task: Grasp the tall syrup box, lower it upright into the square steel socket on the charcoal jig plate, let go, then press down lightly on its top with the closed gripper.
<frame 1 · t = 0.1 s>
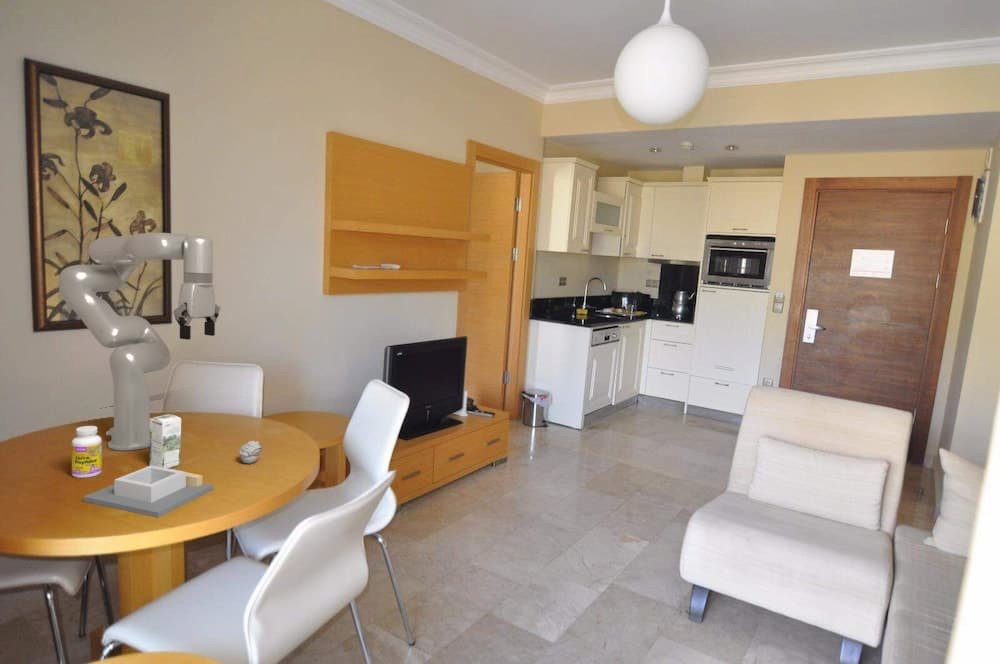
hand: (197, 337, 173), 37 cm above the table, tool pointing down, fingers open, 9 cm apart
white wrinkled round lump: (249, 463, 175), on the table
socket jig: (151, 495, 149), on the table
supplement bottle: (87, 474, 159), on the table
syrup box: (165, 466, 168), on the table
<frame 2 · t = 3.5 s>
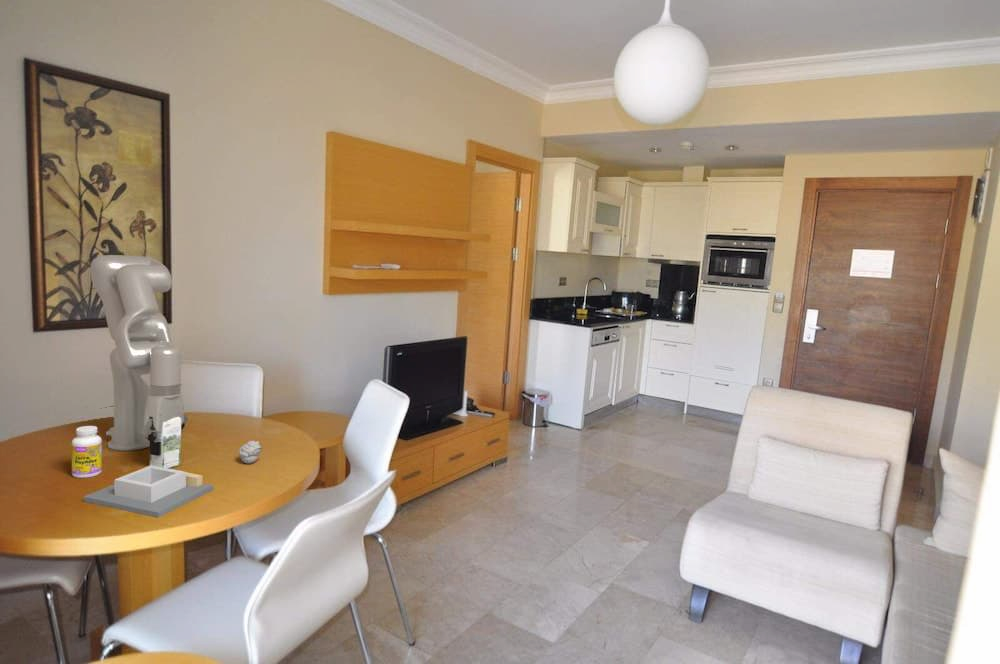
hand: (165, 450, 168), 5 cm above the table, tool pointing down, fingers closed on syrup box, 6 cm apart
syrup box: (165, 466, 168), on the table, touching gripper
everything else where it was.
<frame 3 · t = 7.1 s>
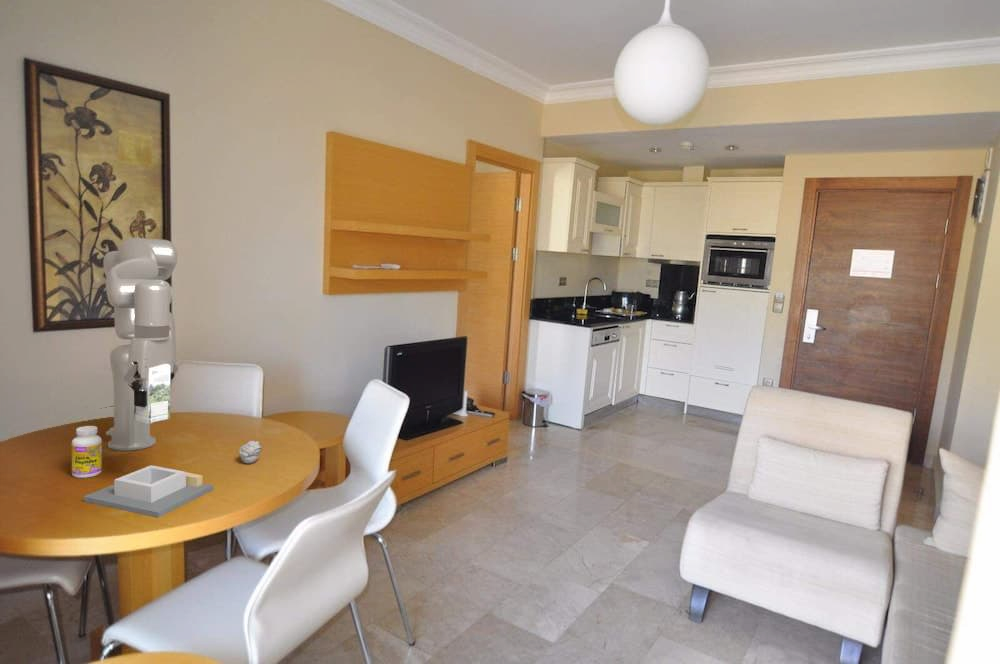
hand: (152, 402, 147), 24 cm above the table, tool pointing down, fingers closed on syrup box, 6 cm apart
syrup box: (152, 421, 148), point 19 cm above the table, touching gripper
everything else where it was.
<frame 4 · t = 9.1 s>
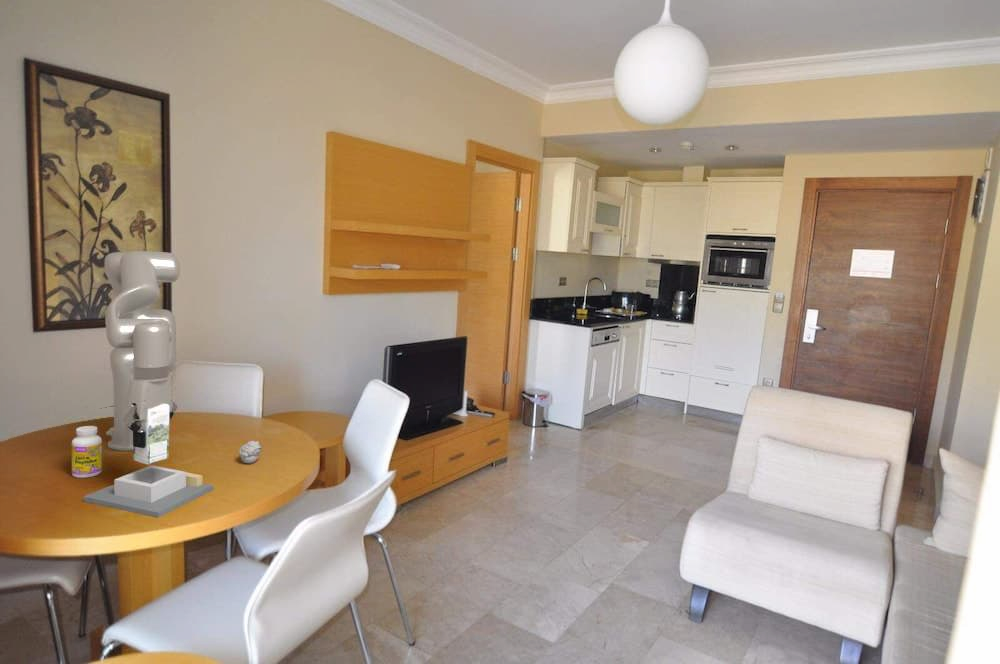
hand: (151, 442, 147), 14 cm above the table, tool pointing down, fingers closed on syrup box, 6 cm apart
syrup box: (151, 460, 148), point 9 cm above the table, touching gripper
everything else where it was.
when the fingers open (7 cm above the table, at t = 10.9 s): syrup box drops 1 cm, resting on socket jig.
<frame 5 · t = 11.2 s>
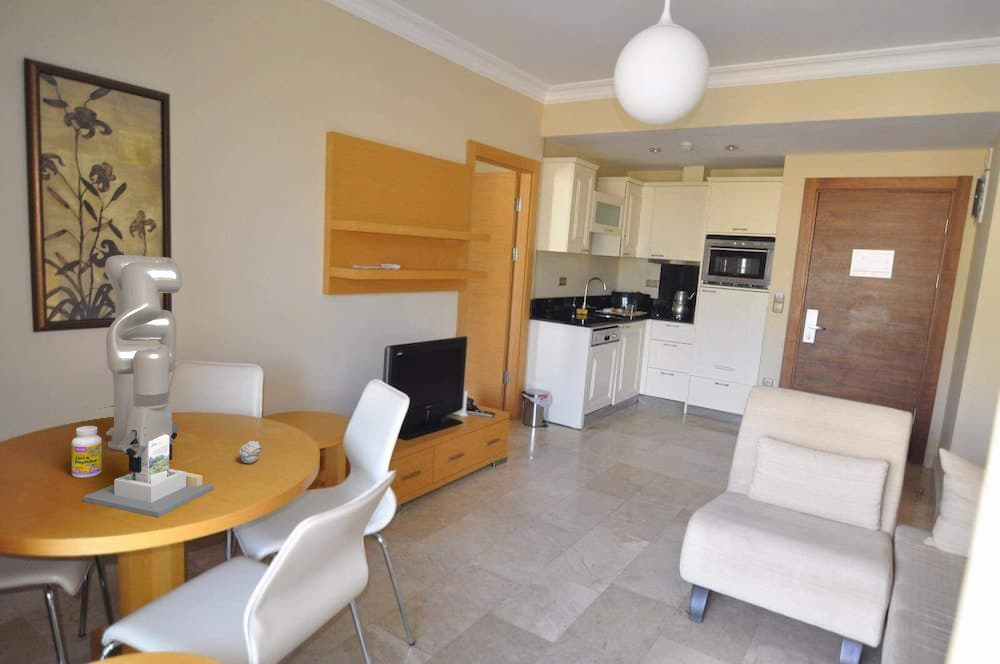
hand: (151, 465, 148), 8 cm above the table, tool pointing down, fingers open, 9 cm apart
syrup box: (151, 490, 149), point 1 cm above the table, touching socket jig
everything else where it was.
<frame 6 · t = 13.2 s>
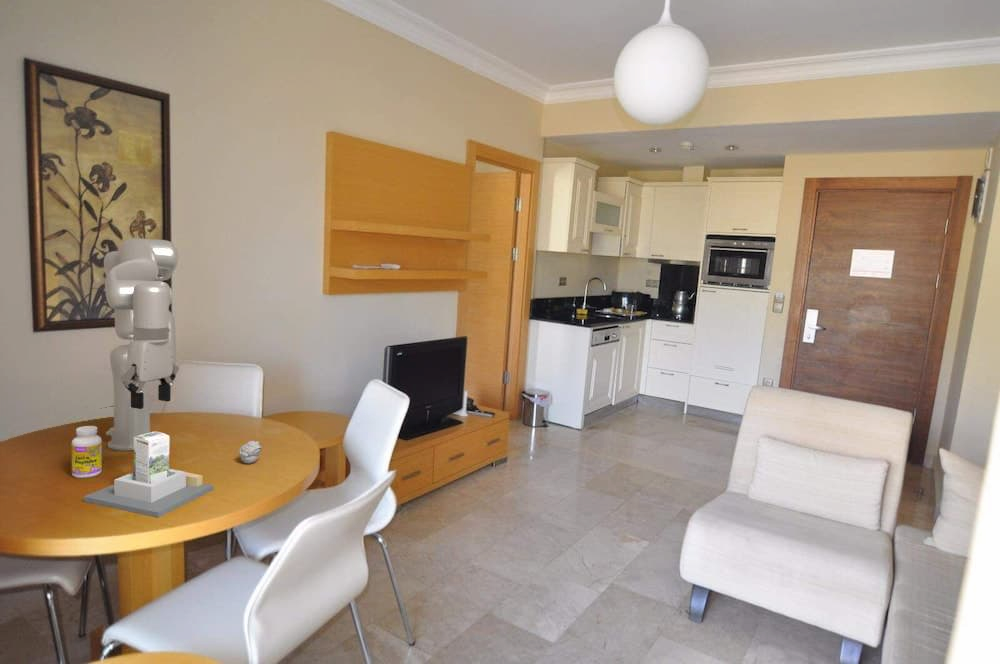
hand: (151, 403, 146), 24 cm above the table, tool pointing down, fingers open, 7 cm apart
nothing on the table moved.
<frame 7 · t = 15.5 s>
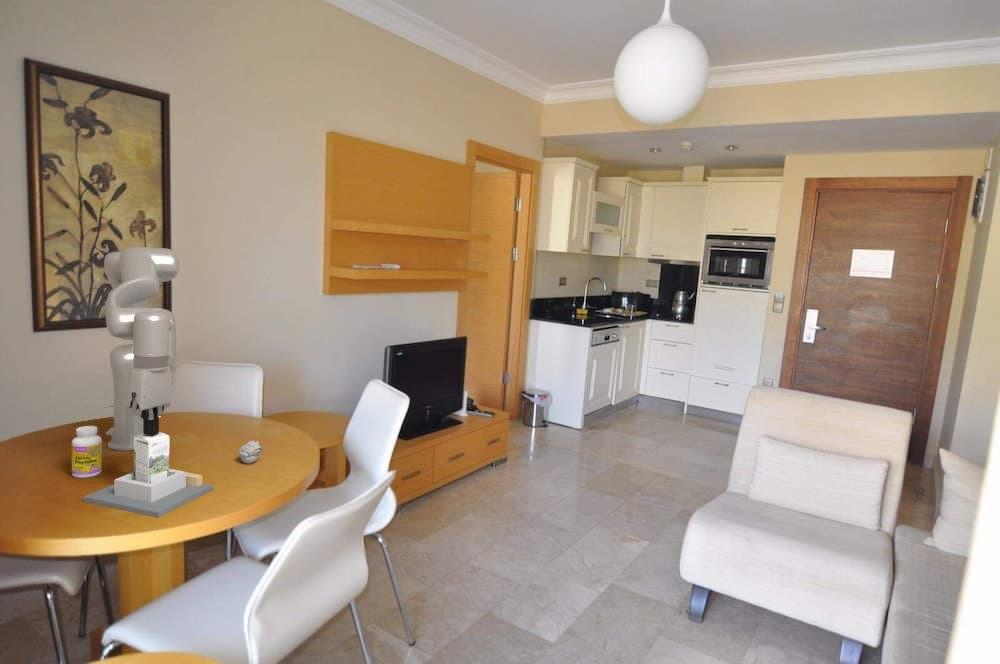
hand: (151, 433, 147), 16 cm above the table, tool pointing down, fingers closed
nothing on the table moved.
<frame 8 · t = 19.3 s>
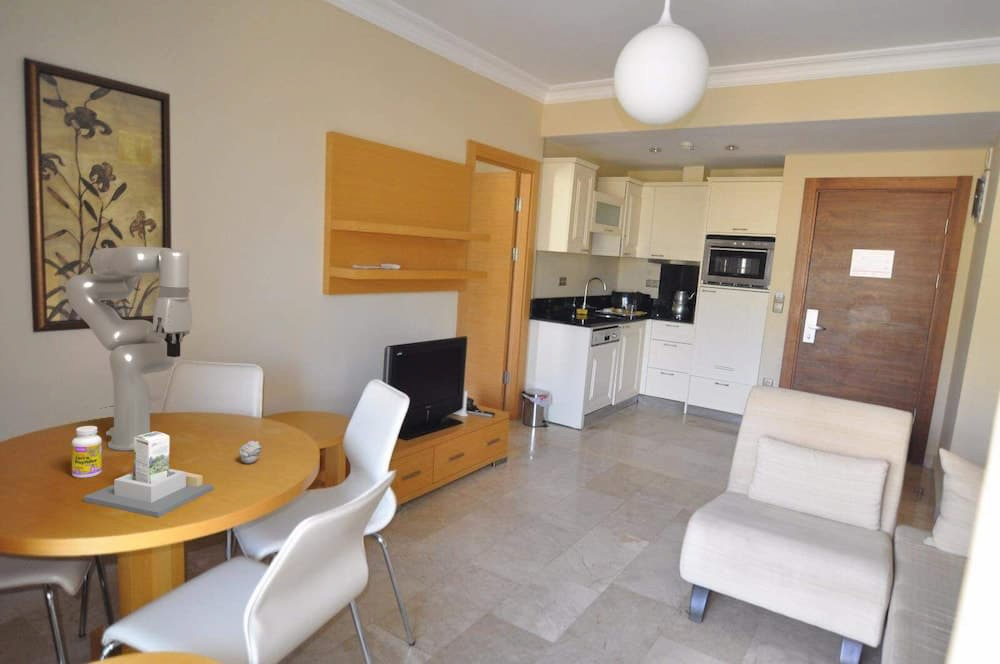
hand: (173, 356, 170), 31 cm above the table, tool pointing down, fingers closed
nothing on the table moved.
at the end: syrup box 0.4 cm off-centre on the socket jig, point 1.0 cm above the socket jig's base; syrup box tilted 0°; the gripper is holding nothing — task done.
